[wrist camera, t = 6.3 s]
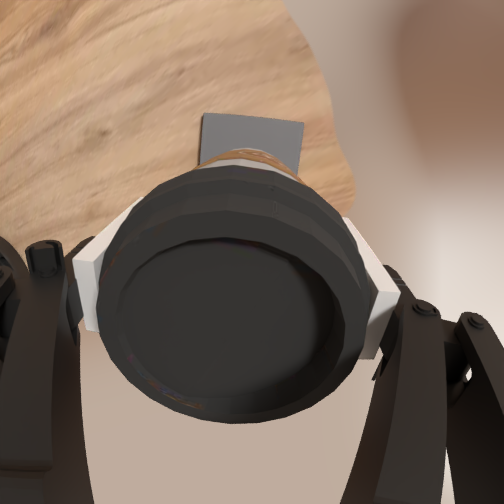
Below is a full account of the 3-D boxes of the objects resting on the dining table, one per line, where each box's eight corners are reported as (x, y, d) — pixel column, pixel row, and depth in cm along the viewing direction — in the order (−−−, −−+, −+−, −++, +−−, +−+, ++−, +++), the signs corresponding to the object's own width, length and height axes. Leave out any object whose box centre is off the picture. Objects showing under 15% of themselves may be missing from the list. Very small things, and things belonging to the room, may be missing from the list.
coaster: (198, 205, 34) (197, 206, 34) (204, 112, 30) (203, 112, 29) (290, 214, 35) (291, 216, 34) (303, 122, 30) (304, 123, 30)
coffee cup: (331, 175, 21) (444, 298, 7) (265, 268, 24) (271, 452, 10) (225, 109, 19) (149, 110, 6) (166, 213, 22) (59, 361, 9)
